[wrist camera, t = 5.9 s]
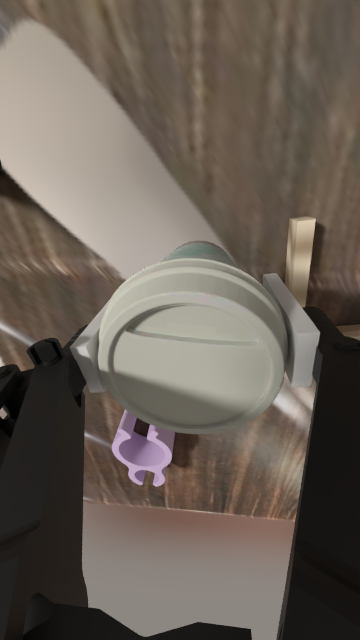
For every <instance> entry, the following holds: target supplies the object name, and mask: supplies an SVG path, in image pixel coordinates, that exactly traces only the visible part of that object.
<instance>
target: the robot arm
mask: <svg viewBox="0 0 360 640" xmlns="http://www.w3.org/2000/svg"><path fill="white" fill-rule="evenodd" d="M263 287H264V288H265V289H266V290H267V291H268V292H269V293H270V294H271V295H272V297H273V298H274V300H275V301H276V303H277V304H278V306H279V308H280V310H281V313H282V315H283V318H284V321H285V326H286V332H287V338H288V355H287V360H286V364H285V371H286V374H287V376H288V379H289V381H290V383H291V386H292V387H311V384H312V378H313V377H314V379H315V381H316V383H317V387H316V392H315V398H314V403H313V404H314V405H313V412H312V418H311V425H310V431H309V437H308V444H307V450H306V457H305V463H304V470H303V476H302V482H301V489H300V495H299V502H298V508H297V515H296V521H295V528H294V534H293V540H292V547H291V553H290V560H289V566H288V572H287V579H286V585H285V592H284V597H283V604H282V609H281V615H280V621H279V628H278V634H277V640H360V341H359V340H357V339H355V338H352V337H347V336H344V335H343V334H342V333H341V332H340V331H339V329H338V328H337V327H336V326H335V325H334V324H333V323H331V320H330V319H329V318H327V316H326V315H325V314H324V312H323V311H321V310H319V309H317V308H315V307H301V306H300V304H299V303H298V302H297V300H296V299H295V298H294V296H293V295H292V294H291V292H290V291H289V290H288V288H287V287H286V286H285V284H284V283H283V282H282V280H281V279H280V278H279V276H278V275H277V274H276V273H272V274H263ZM109 301H110V300H109ZM109 301H108V303H109ZM108 303H107V304H106V305H105V306H104V307H103V309H102V310H101V311H100V312H99V313H98V314H97V316H96V317H95V318H94V319H93V320H92V322H91V323H90V324H89V325H86V326H84V327H83V328H81V329H80V330H79V331H78V332H77V333H76V334H75V335H74V336H73V337H72V339H71V341H69V342H68V343H67V344H66V345H65V347H64V348H63V349H62V347H61V345H60V343H59V341H58V339H56V338H48V339H44V340H41V341H39V342H37V343H35V344H33V345H32V346H31V347H29V348H28V350H27V353H28V355H29V357H30V358H31V360H32V362H33V363H34V365H35V367H34V369H30V370H26V371H22V372H21V371H20V369H19V368H18V366H17V365H15V364H10V365H6V366H2V367H0V409H1V408H3V409H4V411H5V412H6V413H7V416H6V417H5V418H4V419H2V418H1V417H0V640H252V637H251V629H246V628H239V627H231V626H224V625H216V624H208V623H201V622H197V623H193V624H190V625H187V626H184V627H180V628H177V629H173V630H170V631H166V632H163V633H159V634H156V635H153V636H149V637H143V636H140V635H138V634H137V633H135V632H134V631H132V630H131V629H129V628H128V627H126V626H124V625H123V624H122V623H120V622H118V621H117V620H115V619H114V618H112V617H111V616H109V615H108V614H106V613H105V612H103V611H102V610H100V609H96V608H88V596H87V589H86V585H85V581H84V577H83V572H82V526H83V525H82V524H83V523H82V522H83V475H84V425H85V395H84V393H83V391H82V390H83V388H84V386H85V385H86V384H87V387H88V389H89V391H90V392H105V390H106V388H107V387H106V386H105V384H104V382H103V379H102V377H101V374H100V370H99V364H98V351H99V331H100V325H101V321H102V318H103V315H104V313H105V310H106V308H107V305H108Z"/></svg>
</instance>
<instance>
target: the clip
mask: <svg viewBox="0 0 360 640" xmlns="http://www.w3.org/2000/svg"><path fill="white" fill-rule="evenodd" d="M136 419H137V417H135V416H134V415H132V414H131V413H129V412H128V411H127V410H125V411H124V414H123V417H122V419H121V422H120V425H119V427H118V430H117V434H116V436H115V439H114V442H113V445H112V451H113V453H114V455H115V456H116V457H117V459H119V460H120V461H121V462H122V463H124V464H126V465H127V466H128V467H129V473H128V475H129V477H130V479H131V480H132V481H133V482H135V483H137V484H139V485H142V484H143V481H144V476H145V471H146V470H148V471H151V472H154V473H155V477H154V482H153V485H154V486H160V485H162V484H163V483H164V482H165V476H166V469H167V465H168V464H169V463H170V462H171V459H172V452H173V445H174V437H175V432H173V431H169V430H165V429H161V428H159V427H156V426H153V425H151V424H150V427H149V431H148V435H147V437H144V436H141V435H139V434H137V433H136V432H134V431H133V429H134V426H135V423H136Z"/></svg>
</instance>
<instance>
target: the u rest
mask: <svg viewBox="0 0 360 640" xmlns="http://www.w3.org/2000/svg"><path fill="white" fill-rule="evenodd" d="M315 221H316V219H314V218H311V217H308V216H302V217H295V218H289V232H288V247H287V261H286V275H285V286H286V287H287V288H288V290H289V291H290V292H291V294H292V295H293V296H294V298H295V299H296V300H297V302H298V303H299V304H300V306H301V307H305V305H306V296H307V288H308V280H309V271H310V263H311V255H312V246H313V238H314V230H315ZM336 327H337V328H338V329H339V331H340V332H341V333H342V334H343V335H344V336H347V337H352V338H355V339H357V340H359V341H360V324H357V325H342V326H336Z"/></svg>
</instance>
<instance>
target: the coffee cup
mask: <svg viewBox="0 0 360 640" xmlns="http://www.w3.org/2000/svg"><path fill="white" fill-rule="evenodd" d="M287 355H288V338H287V332H286V326H285V321H284V318H283V315H282V313H281V310H280V308H279V306H278V304H277V303H276V301H275V300H274V298H273V297H272V295H271V294H270V293H269V292H268V291H267V290H266V289H265V288H264V287H263V286H262V285H261V284H260V283H259V282H258V281H257V280H255V279H254V278H253V277H251V276H250V275H248V274H246V273H245V272H243V271H241V270H240V269H239V267H238V266H237V265H236V264H235V263H234V261H233V260H232V259H231V258H230V257H229V256H228V255H227V253H226V252H225V251H224V250H223V249H221V248H220V247H219V246H217V245H215V244H213V243H210V242H207V241H192V242H188V243H185V244H183V245H181V246H180V247H178V248H177V249H175V250H174V251H173V252H172V253H170V254H169V255H168V256H167V257H165V258H164V259H163V260H162V261H161V262H159V263H157V264H154V265H151V266H149V267H147V268H144V269H143V270H141V271H139V272H137V273H136V274H134V275H133V276H131V277H130V278H128V279H127V280H126V281H125V282H124V283H123V284H122V285H121V286H120V287H119V288H118V289H117V290H116V292H115V293H114V294H113V296H112V298H111V299H110V301H109V303H108V305H107V308H106V310H105V313H104V315H103V318H102V321H101V325H100V331H99V351H98V364H99V370H100V374H101V377H102V379H103V382H104V384H105V386H106V387H107V389H108V391H109V392H110V394H111V395H112V396H113V398H114V399H115V400H116V401H117V402H118V403H119V404H120V405H121V406H122V407H123V408H124V409H125V410H127V411H128V412H129V413H131V414H132V415H134V416H135V417H137V418H139V419H140V420H142V421H144V422H146V423H148V424H151V425H153V426H156V427H159V428H161V429H165V430H169V431H173V432H178V433H187V434H210V433H218V432H222V431H227V430H230V429H233V428H236V427H239V426H241V425H244V424H246V423H248V422H249V421H251V420H253V419H254V418H256V417H257V416H259V415H260V414H261V413H263V412H264V411H265V410H266V409H267V408H268V407H269V406H270V405H271V403H272V402H273V401H274V399H275V398H276V396H277V394H278V392H279V391H280V389H281V386H282V383H283V379H284V373H285V364H286V360H287Z"/></svg>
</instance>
